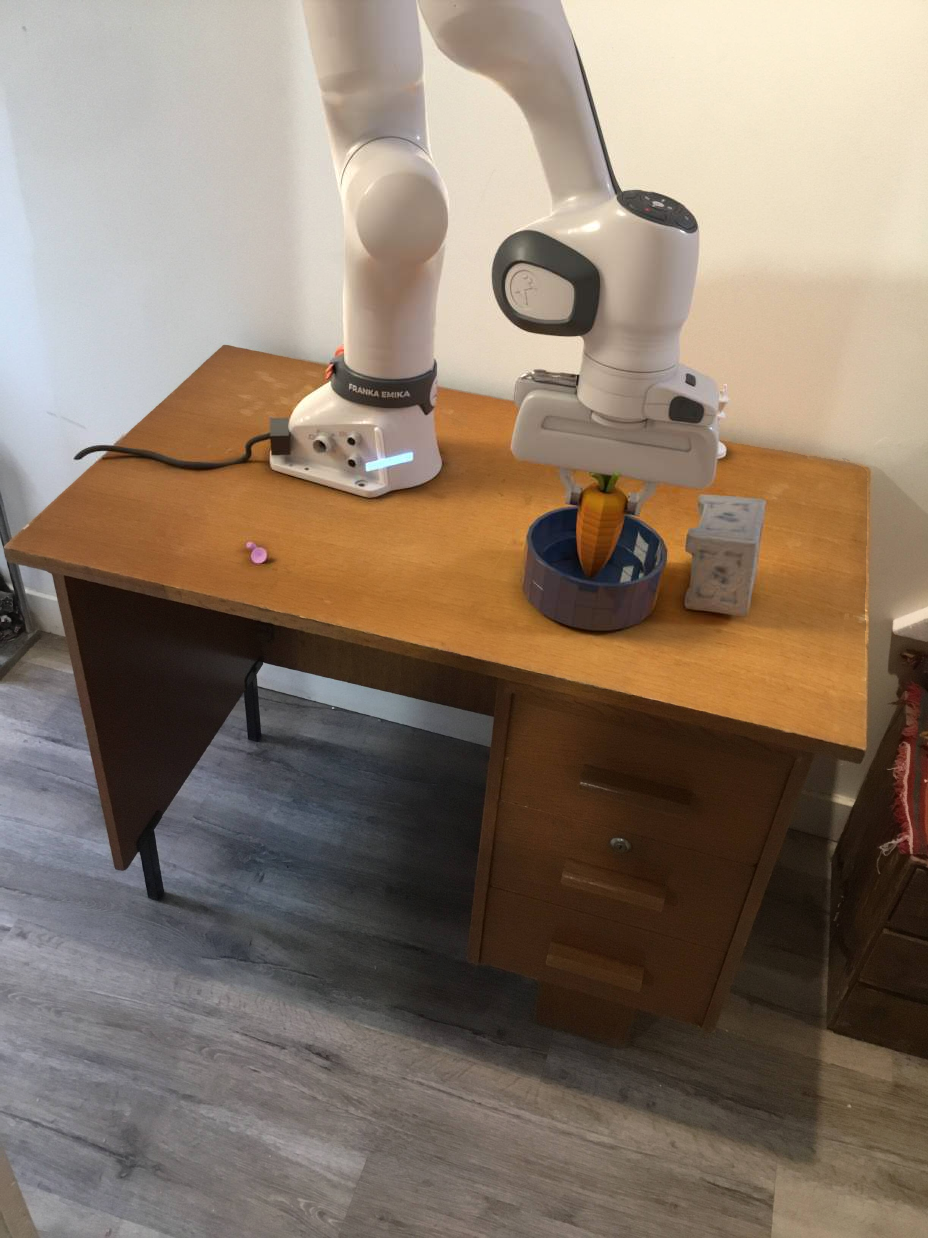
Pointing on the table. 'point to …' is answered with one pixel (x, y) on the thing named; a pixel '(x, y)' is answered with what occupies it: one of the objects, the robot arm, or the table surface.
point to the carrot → (599, 522)
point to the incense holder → (724, 553)
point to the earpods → (257, 553)
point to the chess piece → (722, 403)
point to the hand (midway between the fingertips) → (602, 507)
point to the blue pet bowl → (612, 593)
